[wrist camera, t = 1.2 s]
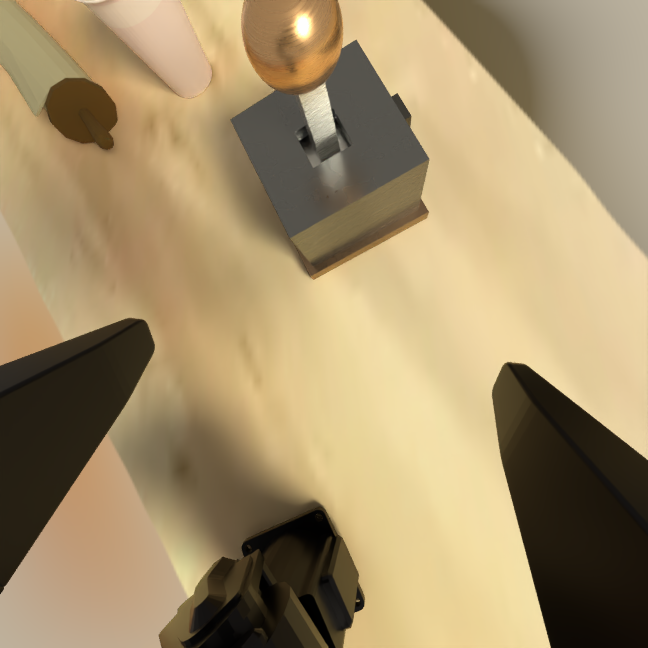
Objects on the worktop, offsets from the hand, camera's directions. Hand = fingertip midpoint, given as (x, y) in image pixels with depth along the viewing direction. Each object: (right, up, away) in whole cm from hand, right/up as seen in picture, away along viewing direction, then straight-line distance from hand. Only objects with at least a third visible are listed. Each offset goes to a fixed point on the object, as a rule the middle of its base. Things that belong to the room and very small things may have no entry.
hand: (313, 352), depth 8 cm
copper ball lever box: (+1, +10, +16) cm, 19 cm away
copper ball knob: (+1, +10, +11) cm, 15 cm away
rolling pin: (-27, +26, +23) cm, 44 cm away
